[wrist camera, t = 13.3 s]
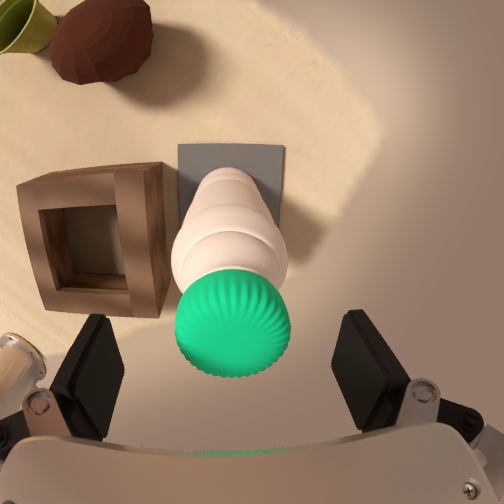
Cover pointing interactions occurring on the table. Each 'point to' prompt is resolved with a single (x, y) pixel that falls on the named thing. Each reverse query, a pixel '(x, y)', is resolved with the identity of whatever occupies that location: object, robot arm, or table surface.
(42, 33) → the plant pot
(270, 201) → the mat
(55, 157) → the table surface
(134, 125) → the table surface
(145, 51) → the muffin
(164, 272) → the slot box
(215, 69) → the table surface
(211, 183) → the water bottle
